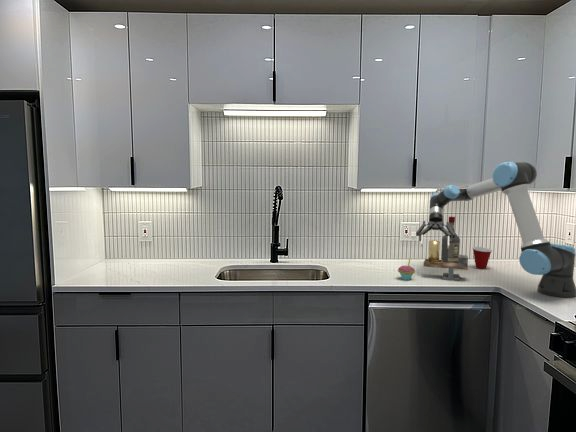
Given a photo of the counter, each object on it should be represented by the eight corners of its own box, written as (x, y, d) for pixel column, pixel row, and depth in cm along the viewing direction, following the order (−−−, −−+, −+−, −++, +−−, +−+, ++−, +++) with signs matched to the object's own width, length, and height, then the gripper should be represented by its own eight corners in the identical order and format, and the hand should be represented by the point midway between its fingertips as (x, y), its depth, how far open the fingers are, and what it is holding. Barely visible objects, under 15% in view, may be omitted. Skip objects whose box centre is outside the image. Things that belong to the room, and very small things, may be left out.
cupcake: (417, 278, 205) (418, 256, 203) (409, 281, 199) (410, 259, 197) (402, 276, 211) (403, 254, 209) (394, 278, 205) (395, 256, 203)
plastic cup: (484, 270, 222) (485, 250, 221) (467, 267, 231) (468, 247, 230) (495, 268, 228) (496, 248, 227) (478, 265, 237) (478, 246, 236)
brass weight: (440, 263, 209) (441, 241, 208) (435, 264, 205) (436, 242, 204) (431, 261, 213) (432, 240, 212) (426, 262, 210) (427, 241, 209)
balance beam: (467, 266, 207) (467, 255, 206) (467, 270, 199) (468, 258, 198) (424, 263, 215) (424, 252, 215) (423, 266, 207) (423, 255, 207)
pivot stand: (458, 276, 210) (459, 262, 209) (459, 281, 200) (459, 267, 199) (442, 274, 213) (443, 261, 212) (442, 279, 203) (443, 265, 202)
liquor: (438, 263, 242) (440, 216, 239) (450, 262, 245) (452, 215, 242) (449, 266, 234) (451, 217, 231) (461, 265, 237) (463, 217, 234)
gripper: (459, 221, 219) (459, 251, 206) (413, 219, 228) (411, 248, 215) (460, 212, 213) (460, 243, 201) (413, 211, 222) (410, 240, 210)
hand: (434, 246), depth 208 cm, fingers open, 13 cm apart
